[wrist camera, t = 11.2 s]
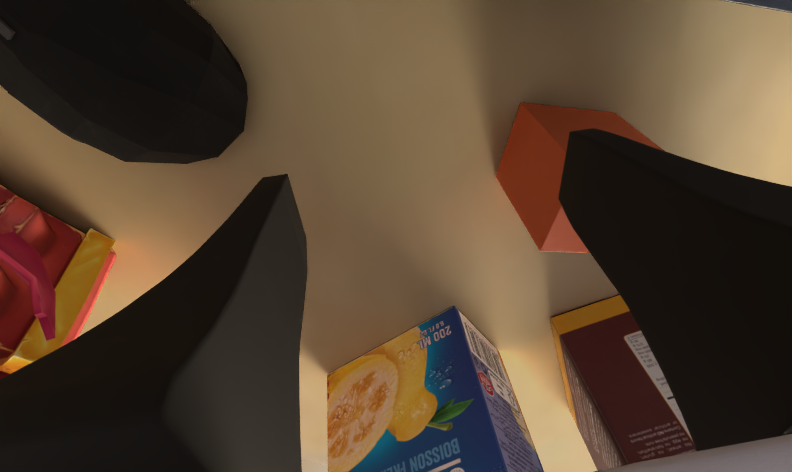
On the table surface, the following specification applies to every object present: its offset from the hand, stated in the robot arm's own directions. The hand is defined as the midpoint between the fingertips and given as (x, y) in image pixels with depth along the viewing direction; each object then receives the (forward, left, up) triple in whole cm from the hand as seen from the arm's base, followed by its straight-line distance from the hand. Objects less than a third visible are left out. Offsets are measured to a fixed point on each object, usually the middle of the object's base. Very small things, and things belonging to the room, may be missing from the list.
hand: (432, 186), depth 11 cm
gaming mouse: (+12, -1, -10) cm, 15 cm away
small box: (-9, +3, -9) cm, 13 cm away
